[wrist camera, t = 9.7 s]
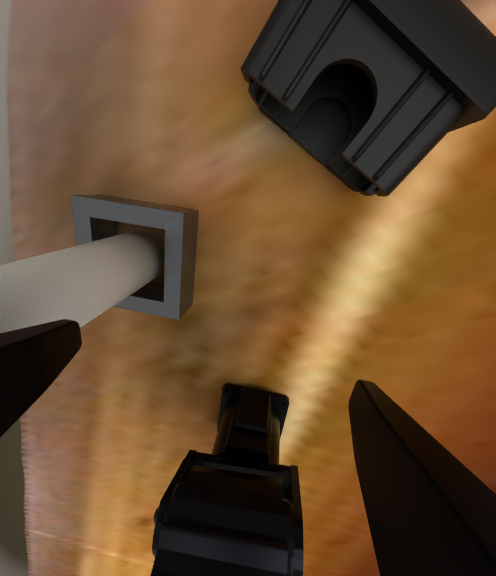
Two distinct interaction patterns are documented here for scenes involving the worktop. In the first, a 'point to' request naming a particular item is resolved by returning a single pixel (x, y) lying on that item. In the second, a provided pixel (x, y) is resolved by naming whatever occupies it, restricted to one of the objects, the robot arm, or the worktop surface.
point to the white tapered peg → (78, 279)
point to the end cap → (372, 81)
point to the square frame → (178, 247)
